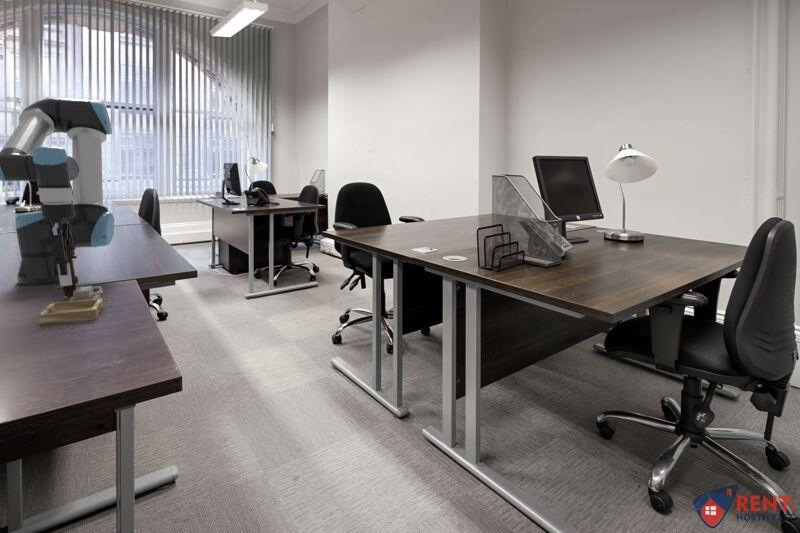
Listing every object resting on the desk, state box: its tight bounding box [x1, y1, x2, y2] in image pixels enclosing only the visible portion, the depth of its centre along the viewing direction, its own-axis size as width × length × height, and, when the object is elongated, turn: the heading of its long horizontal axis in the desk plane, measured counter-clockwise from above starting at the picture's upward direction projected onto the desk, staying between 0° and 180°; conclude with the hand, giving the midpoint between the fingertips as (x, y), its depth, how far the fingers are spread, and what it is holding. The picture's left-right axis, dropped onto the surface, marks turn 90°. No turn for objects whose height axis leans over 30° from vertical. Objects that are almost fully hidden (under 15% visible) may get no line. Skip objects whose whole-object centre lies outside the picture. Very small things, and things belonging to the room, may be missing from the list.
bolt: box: [52, 244, 79, 298], centre depth 133 cm, size 6×5×15 cm
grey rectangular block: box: [73, 284, 95, 301], centre depth 129 cm, size 6×4×4 cm, turn 25°
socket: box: [37, 293, 105, 326], centre depth 121 cm, size 23×12×2 cm, turn 25°
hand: (68, 283), depth 134 cm, fingers closed on bolt, 5 cm apart
